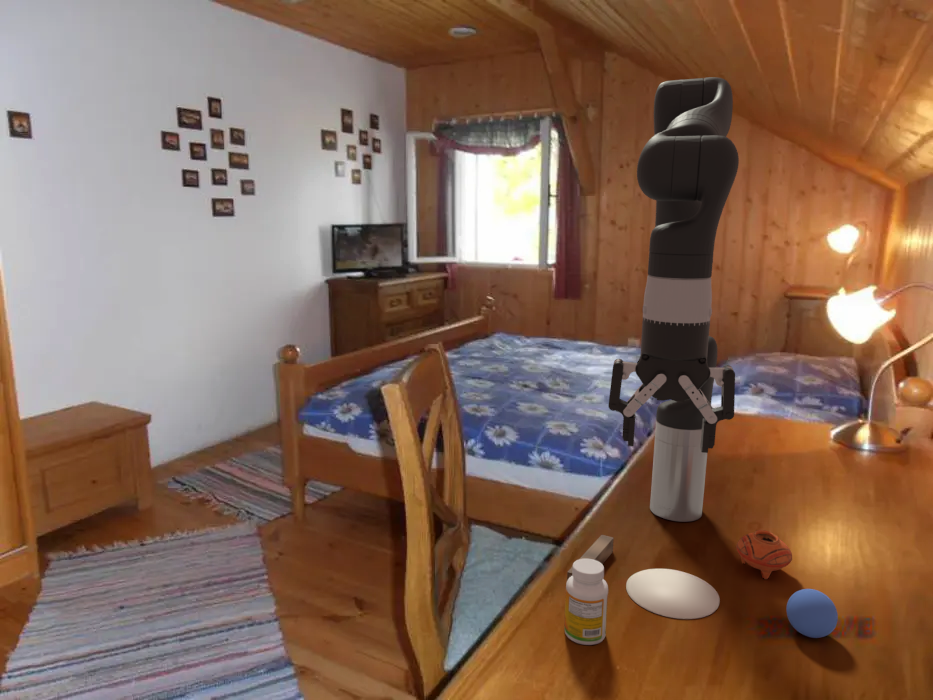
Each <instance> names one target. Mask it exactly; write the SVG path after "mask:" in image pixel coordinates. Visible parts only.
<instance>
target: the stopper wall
mask: <svg viewBox="0 0 933 700" xmlns="http://www.w3.org/2000/svg"><path fill="white" fill-rule="evenodd" d="M614 539H615V538H614V537H612V536H608V535H604V534H601V535H600V536H599V537H598V538H597V539H596V540H595V541H594V542H593V544H591V546H589V548H588V549H587V550H586V551H585V552H584V553H583V554H582V555H581V557H580V558H579V559H593V560H596V561H599V562H600V563H601V564H602V565H603V564H604V563H605V562H606V561H607V560H608V558H609V557H610V556H611V554H613V552H614ZM572 568H573V565H572V566H571V567H570V568H569V570H567V573H566V575H567V576H566V581H567V580H568V579H569V578H570V577H571V576H572Z"/></svg>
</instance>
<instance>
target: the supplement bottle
mask: <svg viewBox="0 0 933 700" xmlns="http://www.w3.org/2000/svg"><path fill="white" fill-rule="evenodd" d="M572 566H573V568H572V576H571V577H570V578H569V579H568V580H567V579H566V584H565V585H566V586H565V605H564V606H565V607H564V608H565V609H564V626H563V627H564V634H565V635H566V637H567V638H568V639H569V640H571V641H572V642H573V643H576V644H578V645H585V646H592V645H597V644H600V643H602V642H603V640H605V637H606V635H607V622H608V621H607V620H608V605H609V604H608V603H609V601H608V599H609V585H608V582H607V581H606V580H605V579H604V577H605V567H604V565H603V564H601V563H600V562H599V561H596V560H593V559H580V558H578V559H576V560H575V561H574V562H573V563H572Z"/></svg>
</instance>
